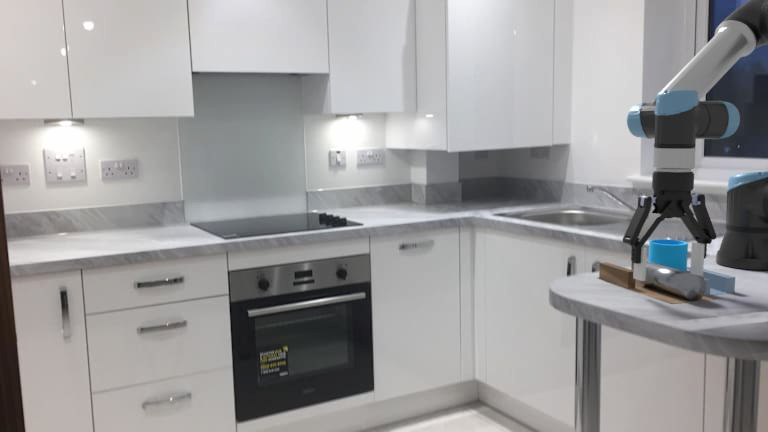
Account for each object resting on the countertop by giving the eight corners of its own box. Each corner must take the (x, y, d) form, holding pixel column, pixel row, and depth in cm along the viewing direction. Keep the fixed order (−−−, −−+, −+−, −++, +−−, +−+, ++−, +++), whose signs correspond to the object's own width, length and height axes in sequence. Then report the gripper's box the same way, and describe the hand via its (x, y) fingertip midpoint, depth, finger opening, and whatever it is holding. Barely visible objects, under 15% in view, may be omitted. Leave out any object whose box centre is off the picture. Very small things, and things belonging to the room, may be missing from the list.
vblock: (699, 288, 149) (700, 268, 148) (736, 299, 140) (737, 277, 139) (668, 291, 147) (669, 270, 146) (703, 303, 137) (704, 280, 137)
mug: (679, 283, 155) (681, 246, 154) (642, 278, 160) (643, 242, 159) (696, 273, 164) (697, 239, 163) (660, 269, 169) (662, 236, 168)
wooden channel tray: (634, 280, 157) (635, 259, 156) (714, 306, 134) (715, 281, 134) (596, 284, 154) (596, 262, 154) (670, 311, 131) (672, 285, 131)
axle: (634, 282, 145) (640, 259, 145) (654, 287, 147) (660, 264, 147) (682, 298, 132) (688, 272, 132) (702, 302, 134) (709, 277, 134)
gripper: (711, 167, 143) (705, 269, 146) (606, 170, 136) (602, 277, 139) (740, 169, 136) (733, 276, 139) (630, 172, 129) (626, 285, 132)
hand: (668, 277), depth 139 cm, fingers open, 13 cm apart
